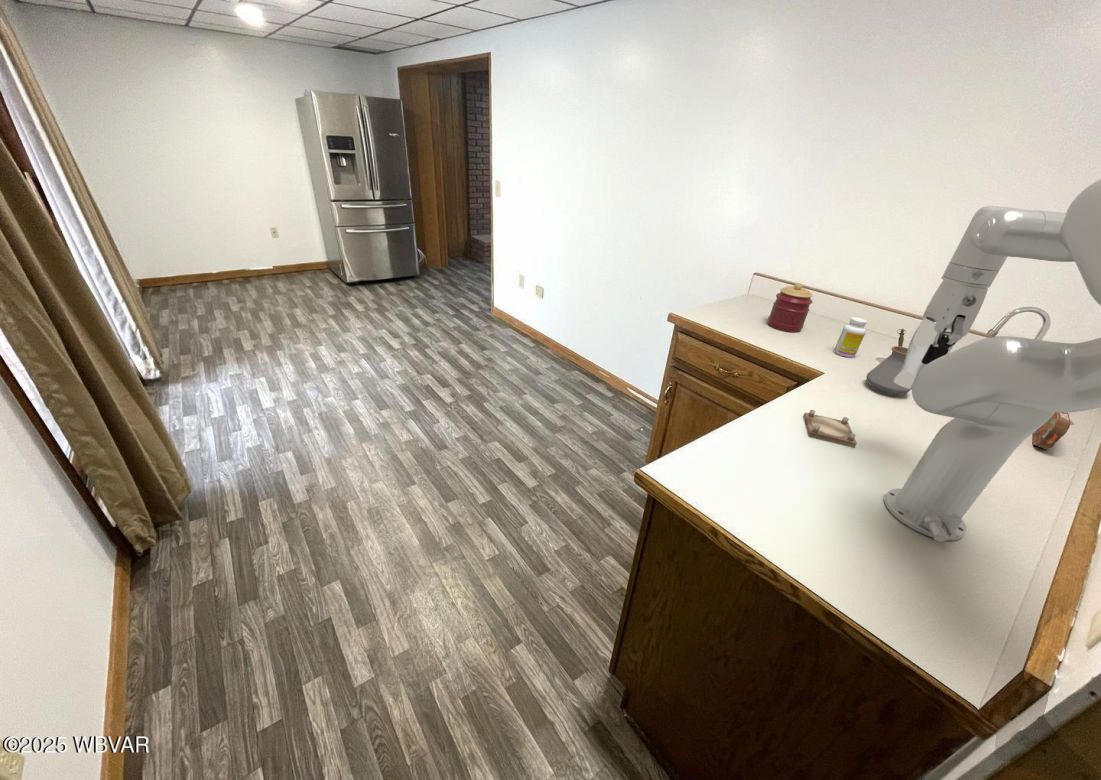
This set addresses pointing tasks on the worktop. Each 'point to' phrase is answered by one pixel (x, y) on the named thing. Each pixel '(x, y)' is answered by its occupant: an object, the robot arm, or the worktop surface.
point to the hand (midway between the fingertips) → (923, 357)
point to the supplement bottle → (851, 337)
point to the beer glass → (917, 353)
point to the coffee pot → (889, 371)
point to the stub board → (829, 429)
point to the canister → (790, 309)
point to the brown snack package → (1051, 430)
